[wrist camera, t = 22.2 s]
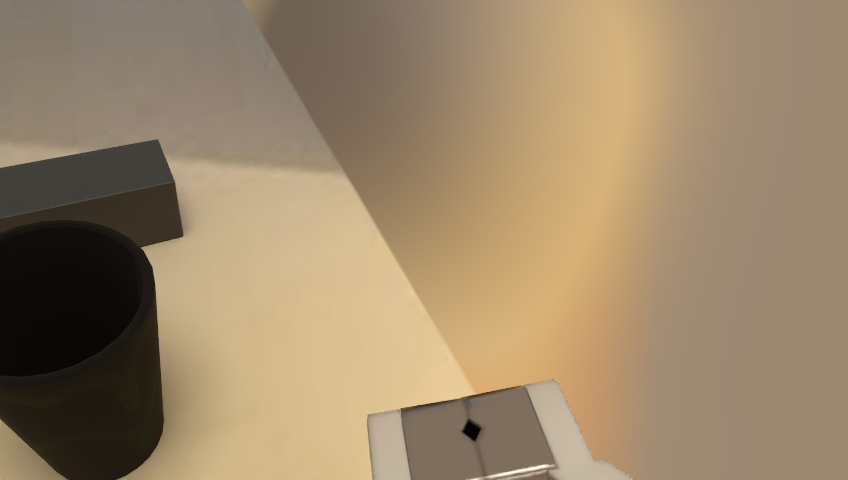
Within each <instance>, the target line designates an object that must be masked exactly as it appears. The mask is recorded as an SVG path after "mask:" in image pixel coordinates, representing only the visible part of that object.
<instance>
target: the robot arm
mask: <svg viewBox="0 0 848 480" xmlns="http://www.w3.org/2000/svg"><path fill="white" fill-rule="evenodd" d="M400 410H401V414H400ZM400 410H399V409H397V410H392V411H386V412H380V413H374V414H368V418H367V428H368V438H369V448H370V458H371V468H372V479H373V480H634V479H633V478H631V477H630V476H628V475H627V474H625V473H624V472H622V471H621V470H619V469H618V468H616V467H615V466H613V465H612V464H610V463H609V462H607V461H606V460H600V461H595V460H594V458H593V456H592V454H591V452H590V449H589V447H588V445H587V443H586V441H585V439H584V437H583V435H582V432H581V430H580V428H579V426H578V424H577V422H576V420H575V418H574V415H573V413H572V411H571V409H570V407H569V405H568V403H567V400H566V398H565V396H564V394H563V392H562V390H561V388H560V386H559V383H557V382H556V381H555V380H554V379H552V380H547V381H542V382H537V383H532V384H527V385H523V387H522V386H516V387H511V388H506V389H501V390H496V391H491V392H486V393H482V394H477V395H472V396H467V397H462V398H460V399H454V400H448V401H442V402H436V403H430V404H424V405H418V406H412V407H406V408H400ZM401 417H402V419H401ZM402 424H403V425H402Z"/></svg>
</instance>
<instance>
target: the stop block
mask: <svg viewBox="0 0 848 480" xmlns="http://www.w3.org/2000/svg"><path fill="white" fill-rule="evenodd" d="M53 220H76V221H86V222H93V223H96V224H100V225H103V226H106V227H110V228H113V229H115V230H116V231H118V232H120V233H122V234H124V235H125V236H127V237H129V238H131V239H132V240H133V241H134V242H135V243H136V244H137V245H138V246H139V247H141V246H145V245H149V244H153V243H157V242H161V241H165V240H169V239H174V238H178V237H182V236H183V230H182V224H181V218H180V211H179V205H178V199H177V193H176V186H175V181H174V179H173V176H172V174H171V171H170V168H169V166H168V163H167V161H166V158H165V156H164V153H163V151H162V148H161V146H160V143H159V141H158V140H152V141H146V142H141V143H135V144H130V145H124V146H119V147H113V148H108V149H102V150H97V151H91V152H86V153H80V154H75V155H69V156H64V157H58V158H53V159H47V160H42V161H36V162H31V163H25V164H20V165H14V166H9V167H3V168H0V233H2V232H4V231H7V230H10V229H12V228H15V227H18V226H22V225H27V224H31V223H36V222H41V221H53Z"/></svg>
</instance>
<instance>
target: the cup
mask: <svg viewBox="0 0 848 480" xmlns="http://www.w3.org/2000/svg"><path fill="white" fill-rule="evenodd" d="M0 419H1V420H2V421H3V422H4V423H5V424H6V425H7V426H8V427H9V428H11V429H12V430H13V431H14V432H15V433H16V434H17V435H18V436H19V437H20V438H21V439H22V440H23V441H24V442H25V443H27V444H28V445H29V446H30V447H31V448H32V449H33V450H34V451H35V452H36V453H37V454H38V455H39V456H40V457H42V458H43V459H44V460H45V461H46V462H47V463H48V464H49V465H50V466H51V467H52V468H53V469H54V470H55V471H56V472H58V473H59V474H61V475H62V476H64V477H65V478H67V479H69V480H115V479H118V478H121V477H123V476H125V475H127V474H129V473H130V472H132V471H133V470H135V469H137V468H138V467H139V466H140V465H141V464H142V463H143V462H144V461H146V460H147V459H148V458H149V457H150V455H151V454H152V452H153V451H154V449H155V448H156V447H157V445H158V442H159V440H160V437H161V435H162V431H163V423H164V417H163V401H162V385H161V369H160V353H159V338H158V322H157V306H156V290H155V281H154V275H153V268H152V266H151V264H150V262H149V260H148V258H147V256H146V254H145V253H144V251H143V250H142V249H141V248H140V247H139V246H138V245H137V244H136V243H135V242H134V241H133V240H132V239H131V238H129V237H127V236H125V235H124V234H122V233H120V232H118V231H116V230H115V229H113V228H110V227H106V226H103V225H100V224H96V223H93V222H86V221H76V220H53V221H41V222H36V223H31V224H27V225H22V226H18V227H15V228H12V229H10V230H7V231H4V232H2V233H0Z"/></svg>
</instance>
